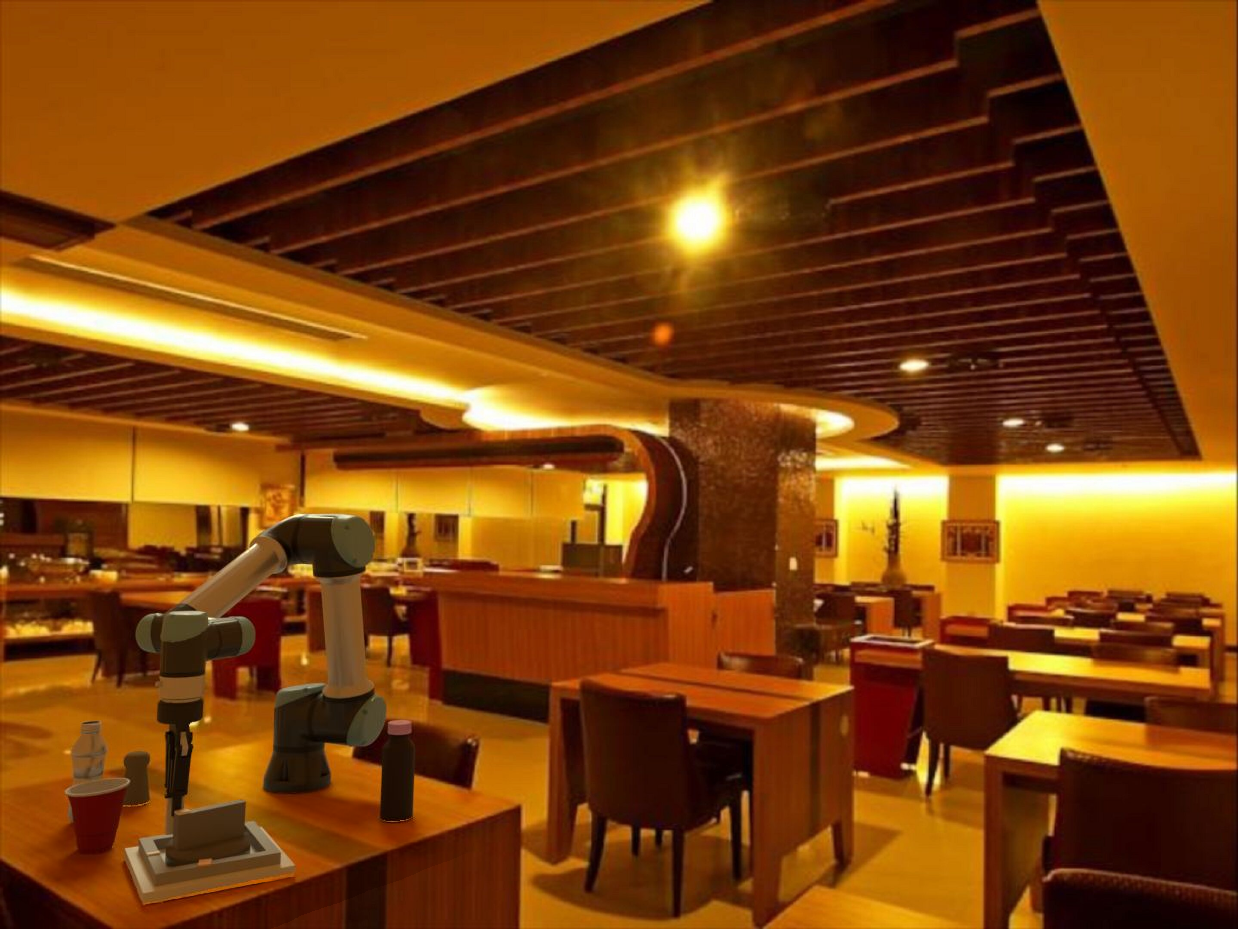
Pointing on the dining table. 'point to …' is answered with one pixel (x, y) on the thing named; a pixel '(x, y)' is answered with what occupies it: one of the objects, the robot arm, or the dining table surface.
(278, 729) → the robot arm
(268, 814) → the dining table surface
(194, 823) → the oval knob with handle
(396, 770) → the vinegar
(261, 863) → the panel
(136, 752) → the cork
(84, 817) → the plastic cup
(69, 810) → the plastic bottle
